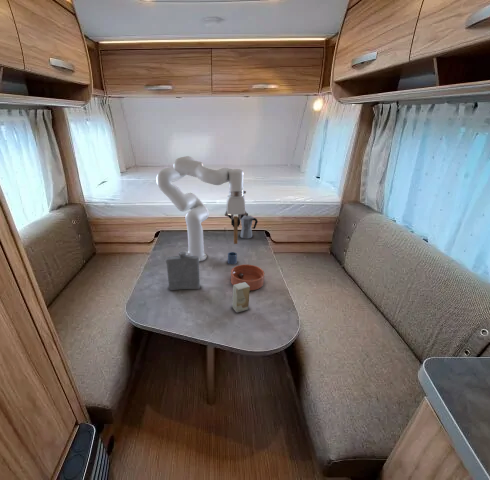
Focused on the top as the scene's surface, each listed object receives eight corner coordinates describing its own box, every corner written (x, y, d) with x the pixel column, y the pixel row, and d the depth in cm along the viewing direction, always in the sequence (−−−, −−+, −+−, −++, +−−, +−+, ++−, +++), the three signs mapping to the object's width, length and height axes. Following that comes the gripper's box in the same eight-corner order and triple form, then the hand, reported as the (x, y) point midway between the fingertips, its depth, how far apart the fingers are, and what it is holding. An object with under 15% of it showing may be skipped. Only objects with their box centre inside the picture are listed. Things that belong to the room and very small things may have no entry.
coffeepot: (235, 236, 200) (235, 213, 193) (242, 232, 207) (242, 210, 200) (253, 241, 191) (254, 217, 184) (259, 237, 198) (261, 213, 191)
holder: (228, 265, 159) (228, 256, 157) (227, 260, 164) (227, 252, 162) (237, 264, 159) (237, 255, 157) (236, 260, 164) (236, 251, 162)
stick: (233, 243, 151) (234, 217, 145) (233, 242, 153) (233, 216, 147) (237, 243, 151) (237, 217, 145) (237, 242, 153) (237, 215, 147)
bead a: (238, 279, 142) (238, 274, 141) (237, 276, 145) (237, 272, 144) (243, 279, 142) (244, 274, 141) (243, 276, 145) (243, 272, 144)
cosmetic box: (236, 313, 118) (237, 289, 113) (232, 307, 122) (232, 284, 117) (249, 309, 120) (250, 286, 116) (244, 303, 124) (245, 281, 119)
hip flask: (168, 290, 136) (165, 255, 128) (169, 285, 139) (166, 251, 131) (199, 289, 136) (198, 254, 128) (199, 284, 140) (198, 250, 132)
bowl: (232, 291, 133) (232, 281, 131) (229, 274, 149) (229, 264, 147) (266, 291, 133) (267, 280, 131) (260, 273, 149) (260, 264, 147)
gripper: (249, 191, 144) (248, 223, 152) (220, 192, 144) (221, 224, 151) (252, 194, 137) (251, 227, 145) (221, 195, 137) (221, 229, 144)
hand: (235, 225), depth 148 cm, fingers closed on stick, 2 cm apart
